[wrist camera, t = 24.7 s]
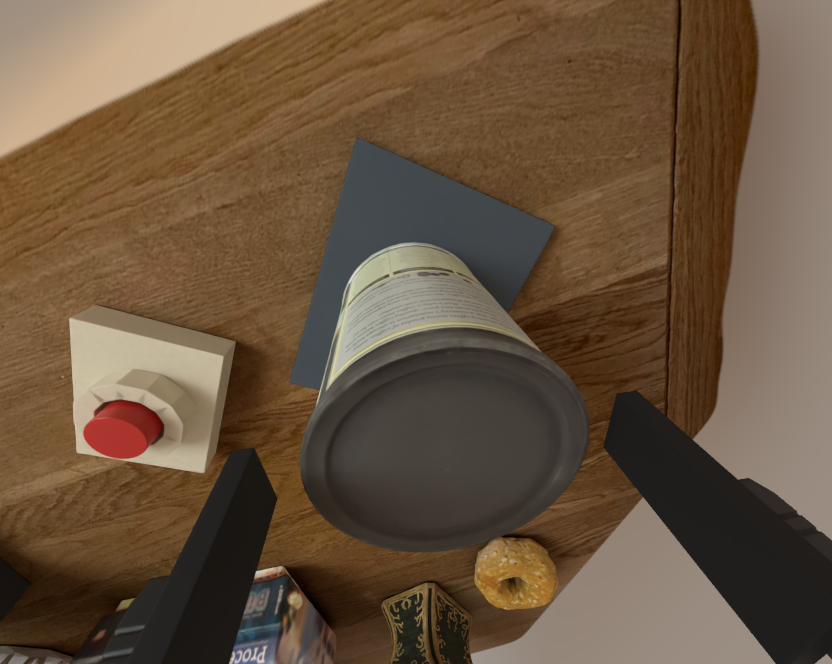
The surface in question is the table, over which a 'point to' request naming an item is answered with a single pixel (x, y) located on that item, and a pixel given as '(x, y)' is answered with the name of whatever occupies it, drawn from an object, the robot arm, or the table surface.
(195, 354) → the switch block
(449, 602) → the decorative box
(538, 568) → the bagel
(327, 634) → the stack of books
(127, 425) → the power button
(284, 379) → the table surface
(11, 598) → the footed upright panel
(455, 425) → the coffee can
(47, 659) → the vase
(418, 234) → the mat
